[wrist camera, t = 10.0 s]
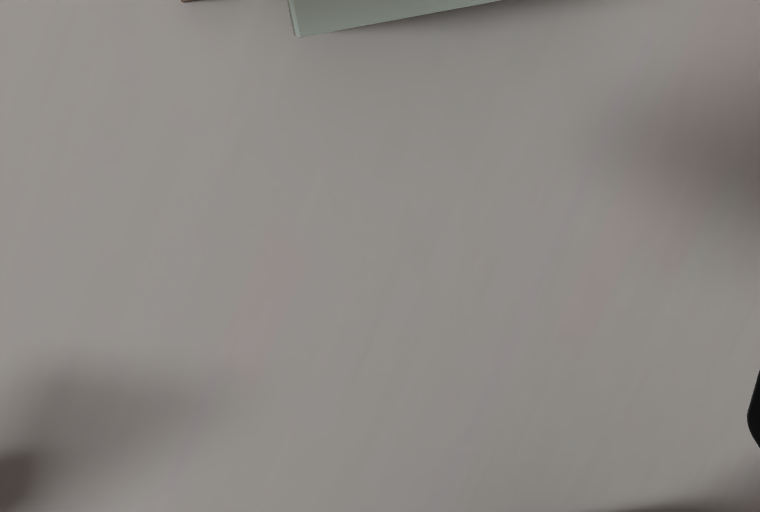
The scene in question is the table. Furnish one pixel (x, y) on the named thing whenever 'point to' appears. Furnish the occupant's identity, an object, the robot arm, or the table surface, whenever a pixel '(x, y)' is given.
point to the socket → (360, 12)
